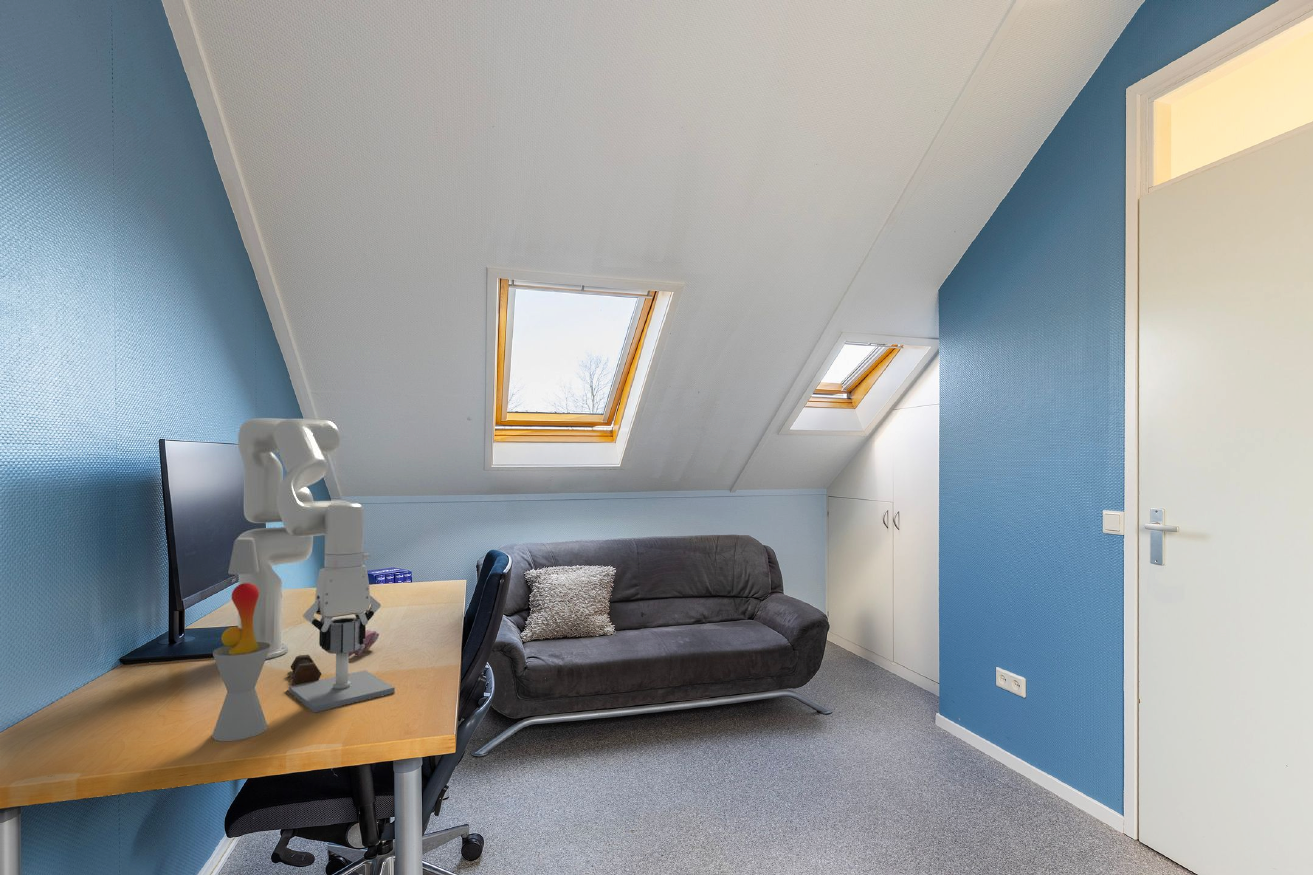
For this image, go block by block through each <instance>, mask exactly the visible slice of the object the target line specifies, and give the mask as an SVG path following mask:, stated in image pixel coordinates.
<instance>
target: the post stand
mask: <svg viewBox="0 0 1313 875" xmlns="http://www.w3.org/2000/svg"><path fill="white" fill-rule="evenodd" d="M348 656H349V652H348V653H341V654H335V676H333V677H332V676H331V677H328V678H323V679H319V680H317V681H312V682H308V683H303V684H298V685H296V684H294V685H289V686H288V693H289V692H290V693H291V695H292V696H293V695H294V696H293V697H294V698H295V697H296V698H297V701H298V702H300V701H301V702H300V703H301V704H303V706H305V707H306V708H307V707H308V709H309V710H310V711H311V712H312V713H313V714H315V713H319V712H323V711H327V709H328V710H331V708H332V709H335V708H334V707H336V708H339V707H338V706H340V707H343V705H344V706H346V705H345V704H348V705H352V704H355V703H354V702H356V703H358V702H357V701H360V702H364V701H363V700H365V701H368V700H367V699H369V698H373V699H375V698H374V697H377V698H380V696H381V697H383V696H382V695H385V696H389V695H392V694H391V693H393V694H395V693H396V690H395V689H396V688H395V686H393V685H392V684H390V683H388V682H386V681H385V680H382V679H381V678H380V677H377V676H376V675H374V674H373V673H371V672H369V671H367V670H366V669H365V670H360V671H355V672H351V673H349V657H348ZM290 693H289V694H290ZM388 694H389V695H388ZM296 698H295V699H296ZM369 700H370V699H369ZM351 703H352V704H351ZM322 710H323V711H322Z"/></svg>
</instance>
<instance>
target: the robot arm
mask: <svg viewBox="0 0 1313 875" xmlns="http://www.w3.org/2000/svg"><path fill="white" fill-rule="evenodd" d="M237 434H238V436H237V444H238V451H239V454H240V457H241V460H242V465H243V470H244V475H243V515H244V517H245V519H246V520H247V521H248V522H250V523H254V524H270V523H282V524H283V526H282V527H280V526H279V527H275V526H274V527H262V528H253V529H250V530H247V531H244V532H242V533H241V534H240V535H239V536H238V537H237V538H236V539H238V538H253V539H254V542H255V548H256V555H257V561H258V568H259V572H256V573H251V574H238V585H240V584H243V583H251V584H253V585H255V586H256V587H257V588H258V591H259V597H258V600H257V603H256V606H255V610H254V615H253V631H254V636H255V639H256V642H265V643H269V644H270V649H269V652H268V654H267V657H266V660H268V659H272V658H277V657H279V656H282V655H285V654H286V653H287V652H288V650H289V646H288V645H287V644H285V643H282V615H283V582H282V579H281V577H280V576H279V575H278V574H277V572H275V570H274V569H273V566H277V565H278V566H279V565H285V564H286V565H287V564H295V563H296V564H297V563H301V562H304V561H306V560H308V559H309V557H310V556H311V555H312V552H313V548H314V547H313V546H314V537H316V536H324V559H323V560H324V565H323V566H324V567H323V568H320V569H319V571H318V576H317V582H316V589H315V595H314V602H313V603H312V605H310V606H309V608H307V610H306V611H305V612H304V613H302V617H303V618H304V619H305V620H307V621H308V622H309V623H310V624H311V625H312V626H313V627H315V628H316V629H317V630H318V631H319V633H318V634H319V641H318V644H319V647H321V649H322V650H324V652H326V651H329V650H330V631H328V627H329V625H330V622H331V620H333V619H334V618H340V617H345V616H351V615H354V616H355V617H354V618H358V619H360V645H361V644H363V642H364V639H365V631H367V630H366V629H367V628H366V626H367V625H368V623H369V621H370V620H371V619H372V618H373V617H374V615H375V613H377V611H378V610H379V609H381V603H380V602H379V601H377V600H376V598H374V597H373V596H372V595H371V592H370V583H369V582H370V581H369V576H368V571H367V569H368V568H367V566H366V565H365V561H368V560H370V553H366V552H365V551H364V528H365V527H364V526H365V525H364V524H365V519H364V518H365V512H364V509H365V508H364V507H363V505H361V504H360V503H358V502H356V503H355V502H349V501H347V500H340V499H339V500H338V499H337V500H314V498H313V494H312V492H311V490H310V489H309V488H308V487H309V486H311V485H313V484H315V483H317V482H319V481H320V480H322V479H323V478H324V476H325V475H326V474H327V473H328V470H329V467H328V466H329V465H328V462H327V460H326V458H325V456H324V455H328V454H329V455H330V454H334V453H335V452H336V451H337V450H338V449H339V447H340V443H341V434H340V431H339V428H338V427H337V425H336V424H335V423H333V421H330V420H328V419H315V418H314V419H312V418H278V417H277V418H275V417H274V418H273V417H272V418H271V417H259V418H252V419H248V420H246V421H244V422H243V423H242V424H241V426H240V427H239V429H238V433H237ZM274 453H278V454H279V456H280V459H281V462H282V463H281V462H280V460H279V458H278V457H277V456H276V454H274ZM284 469H285V472H286V473H287V474H286V476H285V477H284ZM315 614H316V615H319V616H321V617H320V619H318V618H316V617H315ZM237 615H238V617H237V618H238V619H237V627H239V628H241V629H242V626H241V618H240V615H239V613H238V614H237Z"/></svg>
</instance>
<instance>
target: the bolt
mask: <svg viewBox="0 0 1313 875" xmlns="http://www.w3.org/2000/svg"><path fill="white" fill-rule="evenodd" d="M290 669H291V671H292V672H293V674H292V676H291V677H290V678H291V680H292V681H293V683H294V685H298V684H303V683H308V682H312V681H317V680H320V679H321V676H322V671H321V670H320V669H319V667H318V666H317V665H316V663H315V662H314V660H313V658H312V657H311V656H310V654H302V655H301V654H299V655H298V656H296V657H295V658H294V660H293V662H292V663H291V665H290Z"/></svg>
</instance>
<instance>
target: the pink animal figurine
mask: <svg viewBox="0 0 1313 875" xmlns="http://www.w3.org/2000/svg"><path fill="white" fill-rule="evenodd" d="M379 636H380V634H379V633H378V632H377V631H376V630H372V629H369V630H366V631H365V639H364V642H363V644H361V645H360V648H359V649H357V650H356V651H353V652H349V656H348V658H349V657H351V656H352V655H355V656H356V657H359V656H361V655H362V653H363V652H364V653H367V652H368V651H369V650H370V649H371V647H372V646H373V645H374V644H375V643H376V641H378V639H379Z"/></svg>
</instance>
